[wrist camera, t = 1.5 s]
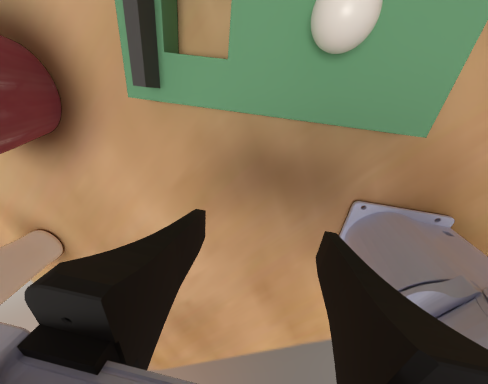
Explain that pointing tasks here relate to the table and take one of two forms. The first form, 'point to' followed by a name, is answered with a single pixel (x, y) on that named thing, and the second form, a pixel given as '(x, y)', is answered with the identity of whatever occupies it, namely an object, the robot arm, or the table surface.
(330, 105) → the green board
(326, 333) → the table surface
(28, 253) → the drinking glass
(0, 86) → the plant pot
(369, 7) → the ball
